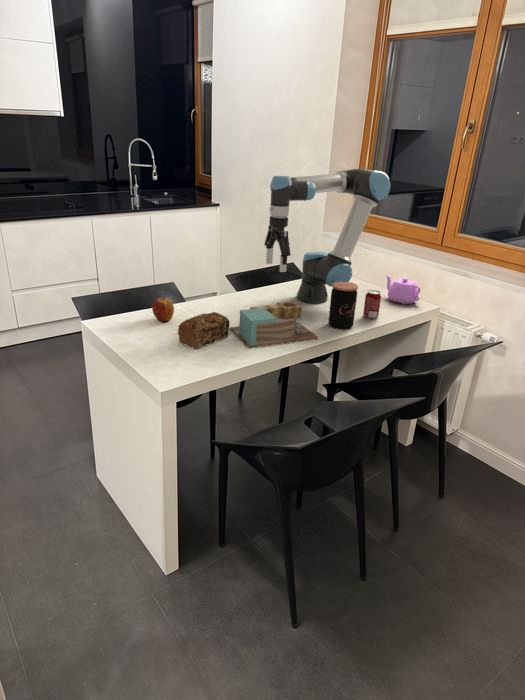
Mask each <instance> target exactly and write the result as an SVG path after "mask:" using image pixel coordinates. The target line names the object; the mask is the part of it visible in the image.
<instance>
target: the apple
mask: <svg viewBox="0 0 525 700" xmlns="http://www.w3.org/2000/svg"><path fill="white" fill-rule="evenodd" d="M174 305H175V304H174V303H173V302H172V301H171V299H170V298H165V297H159V298H156V299H155V300H154V301H153V303H152V306H151V309H152V313H153V315H154V317H155V318H156V320H158V321H159V322H160V321H168V322H169V320H170V321H171V319H172V318H173V315H174V313H175V307H174Z"/></svg>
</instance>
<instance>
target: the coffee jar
mask: <svg viewBox="0 0 525 700" xmlns="http://www.w3.org/2000/svg"><path fill="white" fill-rule="evenodd" d="M331 288H332V289H331V291H330V292H331V295H330V304H329V312H328V324H329V327H331V328H333V329H335V330H341V331H342V330H343V331H344V330H350V329H352V327H353V325H354V322H355V316H356V315H355V313H356V308H357V307H356V306H357V298H358V289H359V285H357V284H355V283H354V282H350V281H349V282H335V283H333V284H332V287H331Z"/></svg>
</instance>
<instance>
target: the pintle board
mask: <svg viewBox="0 0 525 700" xmlns="http://www.w3.org/2000/svg"><path fill="white" fill-rule="evenodd" d="M229 331H231V332H232V333H233V334H234V336H235V337H236V338H237V339H238V340H239V341H240V342H241V341H242V342H243V343H244V344H245V345H246V346H247V347H248V348H247V347H246V346H245V345H244V344H243V343H242V342H241V343H242V344H243V345H244V346H245V347H246V348H247V349H253V348H252V347H253V346H254V347H256V348H259V347H258V346H263V347H266V346H265V345H270V346H273V345H272V344H277V345H282V344H281V343H285V344H290V343H289V342H292V343H297V342H296V341H299V342H304V340H306V341H313V340H312V339H314V340H318V336H317V334H315V333H314V332H312V331H311V330H310V329H308V328H307V327H305V326H304V325H303V322H302V321H300V320H299V321H298V320H297V319H286V320H281V321H280V320H279V321H276V322H270V323H262V324H257V327H256V345H253V346H251V345H250V344H249V343H248V342H247V341H246V340H245V339H244V338H243V337H242V336H241V335H240V334H239V325H238V326H230V327H229Z"/></svg>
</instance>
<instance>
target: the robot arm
mask: <svg viewBox="0 0 525 700" xmlns="http://www.w3.org/2000/svg"><path fill="white" fill-rule="evenodd" d="M271 178H272V179H271V181H270V183H269V184H270V185H269V189H270V207H269V215H270V217H269V225H268V231H267V233H266V238H265V241H264V246H265V248H266V258H265V264H266V265H271V264H273V258H274V245H275V243H276V242H277V243H278V246H279V250H280V255H279V256H280V258H279V259H280V260H279V272H280V273H285V272H287V268H288V267H287V264H288V257H290V256H291V247H290V241H289V240H290V239H289V231H288V230H285V228H287V227H288V225H289V224H288V223H289V213H290V212H289V211H290V202H292V201H294V202H295V201H300V202H301V201H304V202H306V201H311V200H313V199H314V197H315V195H316V194H322V193H332V192H336V193H337V194H348V195H352V196H353V199H354V201H353V204H352V205H351V209H350V211H349V213H348V215H347V217H346V219H345V223H344V225H343V226H342V229H341V232H340V234H339V237H337V241H336V243H335V246H334V248H333V250H332V251H330V252H326V251H309V252H306V253H304V254H303V260H302V269H301V270H302V272H301V273H302V274H301V283H300V286H299V288H298V291H297V293H296V298H297V300H298V301H300V302H303V303H308V304H322V303H325V302H327V301H328V299H329V298H328V297H329V294H328V291H327V286H329V287H331V288H333V287H332V284H333V283H335V282H350V281H351V279H352V276H353V269H352V267H351V265H352V264H353V262H352V259H351V257H352V255H353V253H354V251H355V248H356V246H357V244H358V241H359V239H360V238H361V237H360V236H361V234H362V232H363V230H364V228H365V225H366V223H367V221H368V219H369V217H370V214H371V212H372V209H373V208H375V207H378V204H379V203H380V201H382V200H384V199H386V198H387V197H388V195H389V193H390V190H391V182H390V177H389V176H388V175H387V173H386V172H383V171H379V170H378V169H377V170H372V169H366V168H353V169H345V170H338V171H336V172H335V173H330V174H317V175H316V174H315V175H306V176H292V177H290V176H287V175H274V176H272V177H271ZM326 285H327V286H326Z"/></svg>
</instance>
